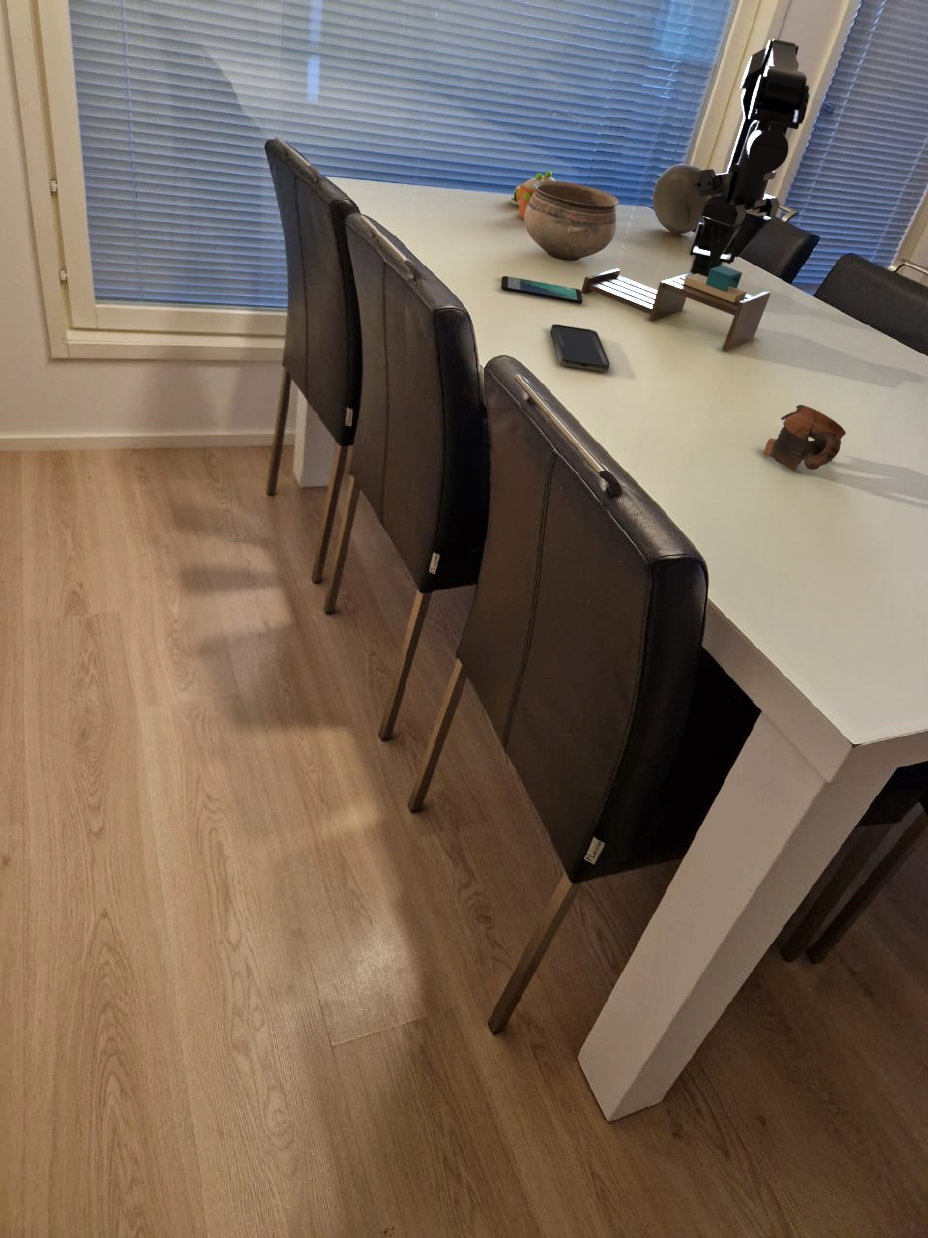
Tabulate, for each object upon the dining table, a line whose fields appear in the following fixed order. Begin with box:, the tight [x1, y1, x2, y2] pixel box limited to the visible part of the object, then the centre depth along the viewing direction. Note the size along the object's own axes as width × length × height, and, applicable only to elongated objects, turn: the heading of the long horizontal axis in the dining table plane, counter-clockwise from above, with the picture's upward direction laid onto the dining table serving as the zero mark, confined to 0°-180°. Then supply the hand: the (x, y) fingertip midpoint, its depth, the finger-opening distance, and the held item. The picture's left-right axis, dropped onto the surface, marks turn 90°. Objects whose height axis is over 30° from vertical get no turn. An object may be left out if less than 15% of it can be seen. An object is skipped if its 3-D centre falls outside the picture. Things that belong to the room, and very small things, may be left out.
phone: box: [549, 323, 611, 373], centre depth 138 cm, size 8×1×15 cm
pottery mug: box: [762, 404, 847, 472], centre depth 118 cm, size 12×10×8 cm
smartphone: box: [500, 275, 584, 305], centre depth 159 cm, size 7×1×15 cm
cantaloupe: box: [652, 163, 712, 235], centre depth 209 cm, size 14×14×15 cm
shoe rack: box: [580, 268, 771, 353], centre depth 158 cm, size 12×31×8 cm, turn 51°
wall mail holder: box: [684, 264, 748, 303], centre depth 152 cm, size 5×10×4 cm, turn 51°
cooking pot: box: [523, 180, 620, 262], centre depth 177 cm, size 25×19×12 cm
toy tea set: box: [510, 170, 556, 220], centre depth 204 cm, size 26×16×10 cm, turn 7°
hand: (724, 259), depth 150 cm, fingers open, 9 cm apart
